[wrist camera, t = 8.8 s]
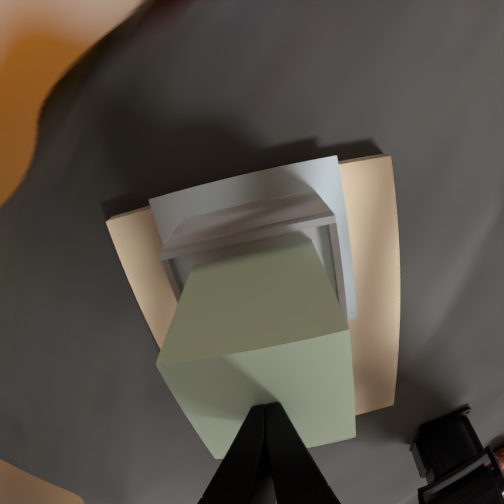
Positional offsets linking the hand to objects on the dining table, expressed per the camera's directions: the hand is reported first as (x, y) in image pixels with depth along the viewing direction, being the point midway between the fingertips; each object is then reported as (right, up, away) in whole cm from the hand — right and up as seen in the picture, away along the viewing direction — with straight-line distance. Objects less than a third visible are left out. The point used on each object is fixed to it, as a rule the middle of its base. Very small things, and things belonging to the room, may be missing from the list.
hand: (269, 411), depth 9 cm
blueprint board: (+1, -1, +12) cm, 12 cm away
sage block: (0, +2, +5) cm, 6 cm away
